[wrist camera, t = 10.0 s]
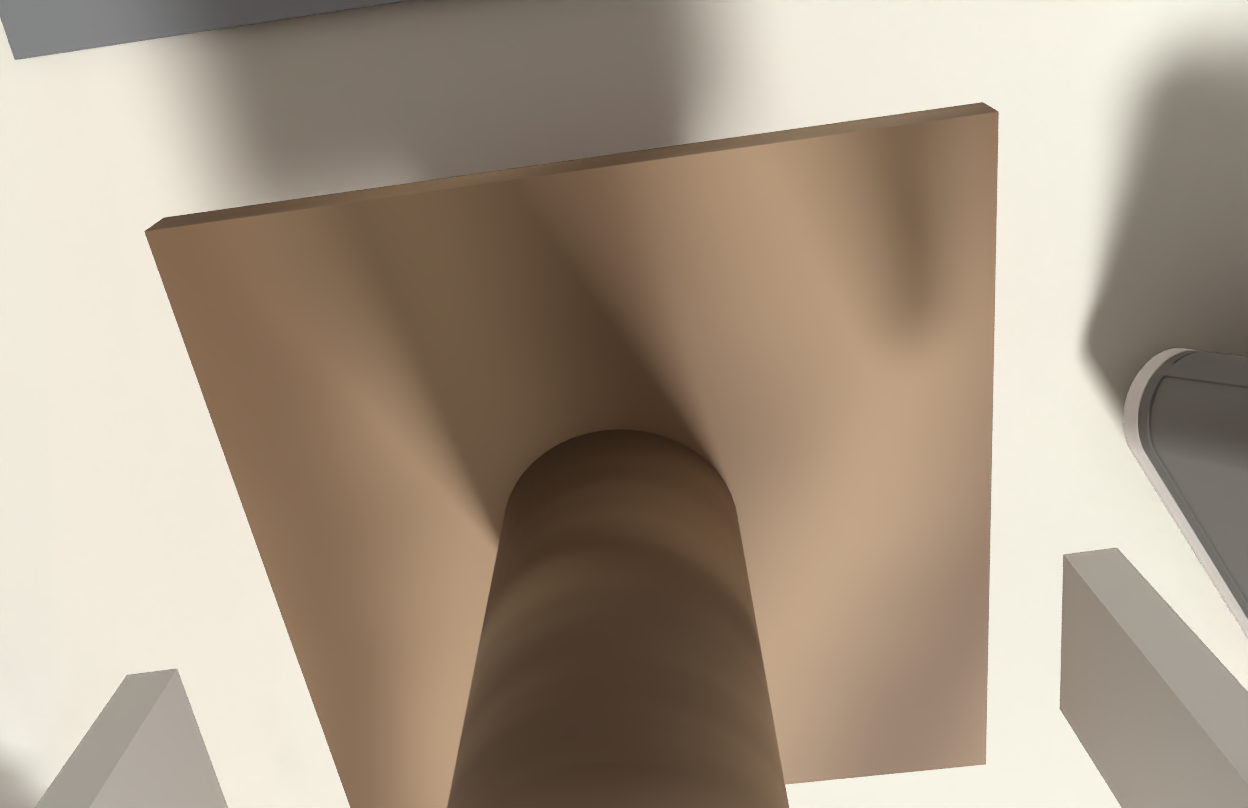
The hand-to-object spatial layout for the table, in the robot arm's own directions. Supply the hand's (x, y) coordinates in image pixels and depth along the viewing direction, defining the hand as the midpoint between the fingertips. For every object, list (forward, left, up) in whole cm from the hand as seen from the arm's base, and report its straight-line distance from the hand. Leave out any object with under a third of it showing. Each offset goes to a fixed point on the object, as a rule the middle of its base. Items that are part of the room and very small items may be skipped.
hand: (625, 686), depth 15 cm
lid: (0, 0, -6) cm, 6 cm away
